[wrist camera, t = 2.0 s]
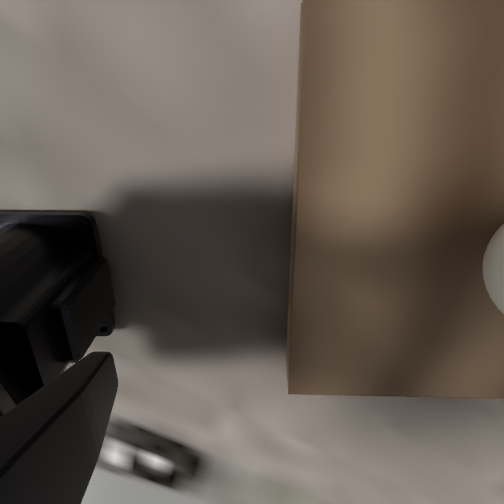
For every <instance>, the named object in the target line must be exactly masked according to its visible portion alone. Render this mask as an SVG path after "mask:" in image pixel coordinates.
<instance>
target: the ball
mask: <svg viewBox="0 0 504 504" xmlns="http://www.w3.org/2000/svg"><path fill="white" fill-rule="evenodd" d="M483 279H484V283H485V286H486V289H487V291H488V293H489V295H490V297H491V299H492V301H493V302H494V303H495V305H496V306H497V307H498V309H499V310H500V311H501V312H502V313H503V314H504V224H503V225H502V226H501V227H500V228H499V229H498V230H497V231H496V232H495V234H494V235H493V237H492V238H491V240H490V242H489V244H488V246H487V248H486V251H485V254H484V258H483Z"/></svg>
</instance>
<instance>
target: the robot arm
mask: <svg viewBox="0 0 504 504" xmlns="http://www.w3.org/2000/svg"><path fill="white" fill-rule="evenodd" d="M79 220H81V221H84V222H85V223H86V225H87V228H85V227H82V226H81V225H80V223H79ZM114 306H115V298H114V293H113V287H112V282H111V277H110V271H109V266H108V261H107V260H106V259H105V258H104V257H103V256H102V251H101V246H100V241H99V235H98V230H97V225H96V221H95V219H94V218H93V216H92V215H90V214H89V213H86V212H17V211H0V504H81V502H82V499H83V496H84V494H85V491H86V489H87V486H88V484H89V481H90V479H91V476H92V474H93V471H94V468H95V466H96V463H97V460H98V457H99V454H100V451H101V447H102V444H103V440H104V437H105V433H106V429H107V426H108V422H109V418H110V415H111V411H112V407H113V404H114V400H115V396H116V393H117V388H118V378H117V373H116V369H115V364H114V359H113V355H112V354H111V353H110V352H92V353H90V354H88V355H87V356H85V357H84V358H83V359H81V358H82V357H83V356H84V354H85V353H86V351H87V350H88V348H89V346H90V345H91V343H92V342H93V340H94V338H95V337H96V336H108V335H110V334H111V333H112V331H113V330H114V328H115V319H114V314H113V308H114ZM103 324H105V325H106V326H107V327H103ZM80 359H81V360H80ZM79 360H80V361H79ZM69 363H76V364H74V365H73V366H71V367H70V368H69V369H67V370H66V371H64V370H65V368H66V367H67V365H68V364H69ZM63 371H64V372H63Z"/></svg>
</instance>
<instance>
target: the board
mask: <svg viewBox="0 0 504 504" xmlns="http://www.w3.org/2000/svg"><path fill="white" fill-rule="evenodd" d="M503 224H504V0H303V2H302V3H301V19H300V42H299V66H298V89H297V112H296V136H295V159H294V182H293V206H292V229H291V252H290V276H289V299H288V322H287V346H286V366H287V380H288V394H306V395H356V396H407V397H458V398H504V314H503V313H502V312H501V311H500V310H499V309H498V307H497V306H496V305H495V303H494V302H493V301H492V299H491V297H490V295H489V293H488V291H487V289H486V286H485V283H484V279H483V258H484V254H485V251H486V248H487V246H488V244H489V242H490V240H491V238H492V237H493V235H494V234H495V232H496V231H497V230H498V229H499V228H500V227H501V226H502V225H503Z"/></svg>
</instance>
